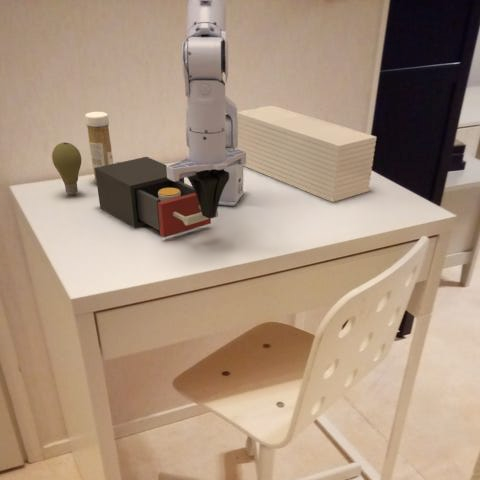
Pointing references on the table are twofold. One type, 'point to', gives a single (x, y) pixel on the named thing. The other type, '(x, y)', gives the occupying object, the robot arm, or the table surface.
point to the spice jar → (99, 139)
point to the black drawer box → (127, 186)
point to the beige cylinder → (168, 193)
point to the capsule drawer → (170, 208)
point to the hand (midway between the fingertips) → (208, 216)
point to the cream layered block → (306, 152)
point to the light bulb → (67, 165)
